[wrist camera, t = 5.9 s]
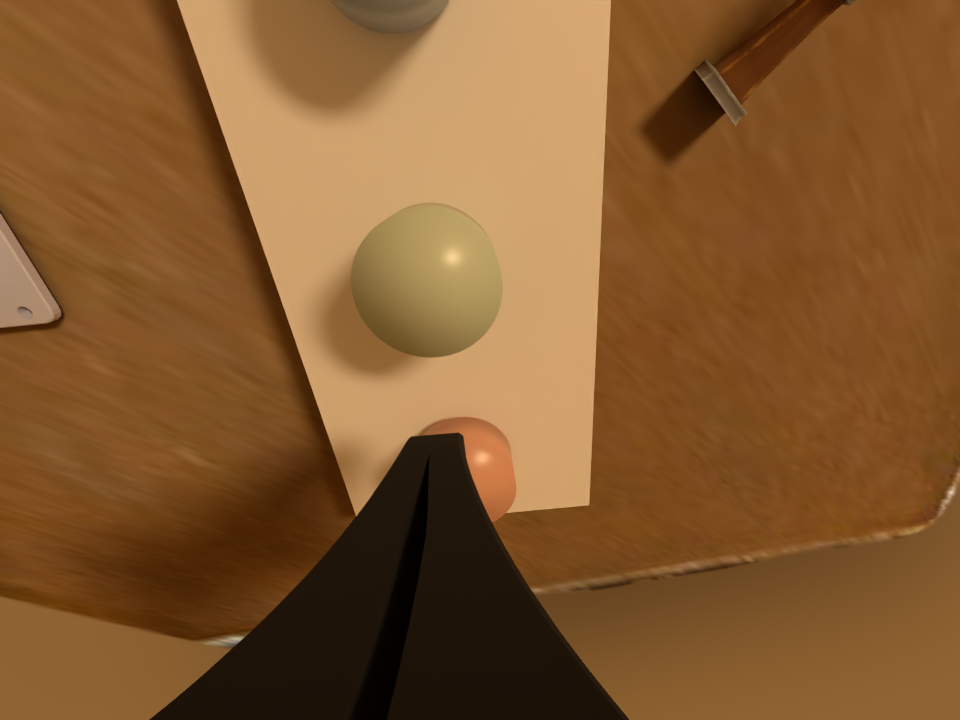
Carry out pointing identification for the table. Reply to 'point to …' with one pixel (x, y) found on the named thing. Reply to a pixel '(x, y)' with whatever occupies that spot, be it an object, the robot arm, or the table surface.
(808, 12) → the wooden post with brackets
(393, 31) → the slate button
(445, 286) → the sage button
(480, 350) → the button panel
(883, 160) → the table surface
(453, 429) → the orange rounded dome
